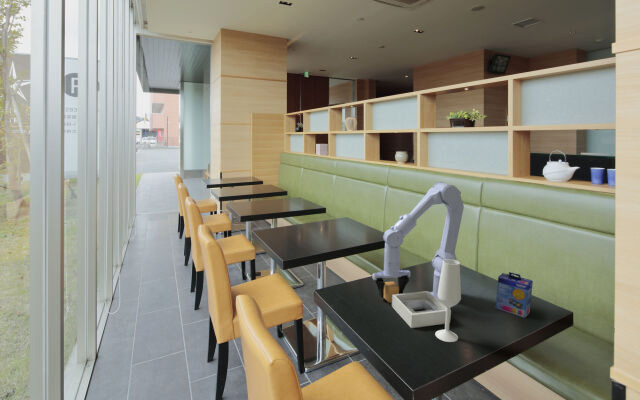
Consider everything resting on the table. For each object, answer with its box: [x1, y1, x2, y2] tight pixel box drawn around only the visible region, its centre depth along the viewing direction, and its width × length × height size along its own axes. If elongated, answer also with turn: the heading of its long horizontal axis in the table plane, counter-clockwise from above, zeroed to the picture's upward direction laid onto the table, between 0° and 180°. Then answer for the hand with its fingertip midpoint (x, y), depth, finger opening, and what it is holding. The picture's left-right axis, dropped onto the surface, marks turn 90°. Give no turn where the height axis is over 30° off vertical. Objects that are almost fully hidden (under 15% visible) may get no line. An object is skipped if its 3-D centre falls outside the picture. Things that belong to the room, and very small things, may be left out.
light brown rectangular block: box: [383, 280, 399, 304], centre depth 131 cm, size 4×5×6 cm
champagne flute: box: [434, 259, 462, 343], centre depth 105 cm, size 7×7×24 cm
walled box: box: [391, 290, 452, 329], centre depth 120 cm, size 14×15×4 cm
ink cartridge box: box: [495, 271, 534, 319], centre depth 121 cm, size 10×6×14 cm, turn 45°
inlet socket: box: [401, 298, 439, 314], centre depth 120 cm, size 10×10×3 cm
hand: (390, 295), depth 131 cm, fingers open, 7 cm apart
